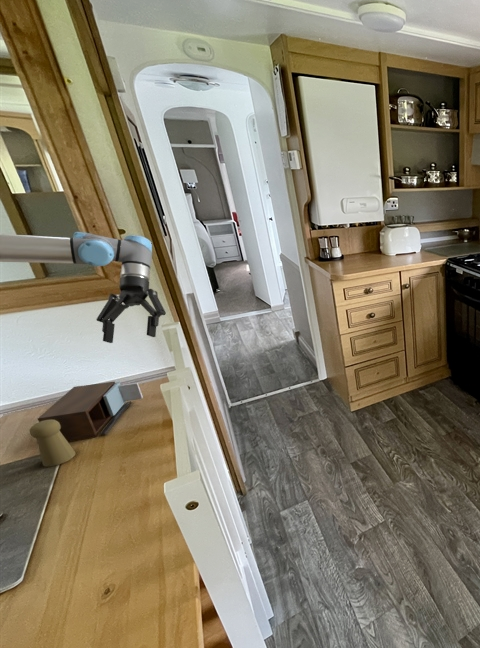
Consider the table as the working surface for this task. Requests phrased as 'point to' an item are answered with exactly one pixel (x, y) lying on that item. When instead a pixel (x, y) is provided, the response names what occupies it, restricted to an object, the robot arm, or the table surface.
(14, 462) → the table surface
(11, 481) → the table surface
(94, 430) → the cabinet
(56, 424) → the cork
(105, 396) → the sliding door
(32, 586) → the table surface
